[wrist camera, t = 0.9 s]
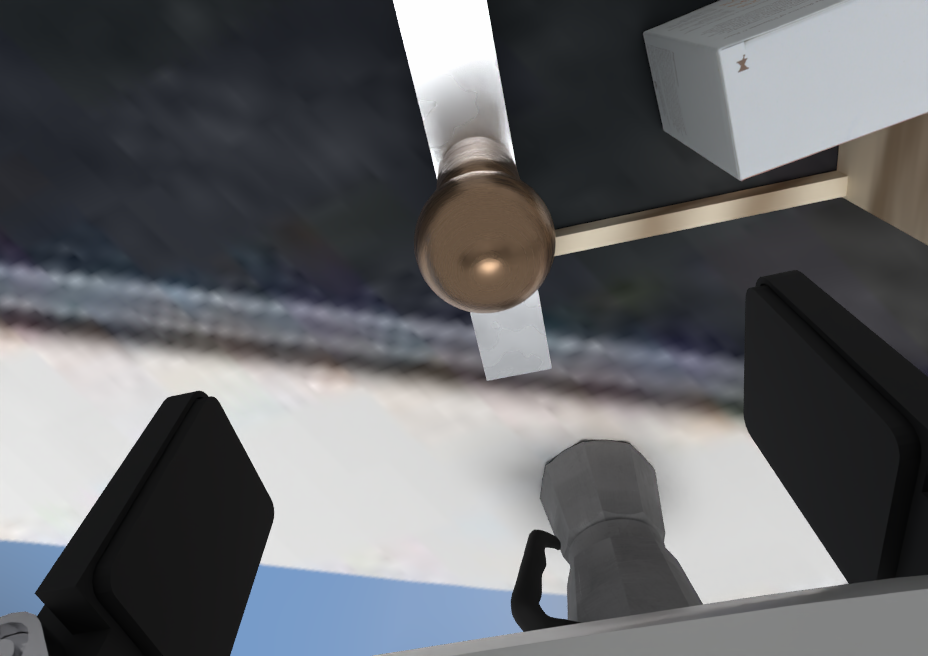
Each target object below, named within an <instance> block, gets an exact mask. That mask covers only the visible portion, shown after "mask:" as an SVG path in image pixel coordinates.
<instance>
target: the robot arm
mask: <svg viewBox="0 0 928 656" xmlns="http://www.w3.org/2000/svg"><path fill="white" fill-rule="evenodd" d="M744 420H745V424H746V427H747V430H748V432H749V434H750V436H751V437H752V439H753V440H754V442H755V443H756V445H757V446H758V448H759V449H760V451H761V452H762V454H763V455H764V457H765V458H766V460H767V461H768V463H769V464H770V466H771V467H772V469H773V470H774V472H775V473H776V475H777V476H778V478H779V479H780V481H781V482H782V484H783V485H784V487H785V488H786V490H787V491H788V493H789V494H790V496H791V497H792V499H793V500H794V502H795V503H796V505H797V506H798V508H799V509H800V511H801V512H802V514H803V515H804V517H805V518H806V520H807V521H808V523H809V524H810V526H811V527H812V529H813V530H814V532H815V533H816V535H817V536H818V538H819V539H820V541H821V542H822V544H823V545H824V547H825V548H826V550H827V551H828V553H829V554H830V556H831V557H832V559H833V560H834V562H835V563H836V565H837V566H838V568H839V569H840V571H841V572H842V574H843V575H844V577H845V579H846V580H847V582H848V583H849V584H845V585H838V586H830V587H823V588H815V589H808V590H801V591H793V592H786V593H778V594H771V595H763V596H757V597H750V598H744V599H737V600H730V601H724V602H717V603H710V604H704V605H697V606H691V607H684V608H677V609H671V610H664V611H658V612H651V613H644V614H638V615H631V616H625V617H618V618H611V619H605V620H598V621H591V622H585V623H578V624H572V625H565V626H559V627H552V628H546V629H540V630H533V631H527V632H520V633H514V634H508V635H501V636H495V637H488V638H482V639H476V640H469V641H463V642H457V643H450V644H444V645H437V646H431V647H425V648H418V649H412V650H406V651H400V652H393V653H387V654H380V655H374V656H928V377H927V376H926V375H925V374H924V373H922V372H921V371H920V370H919V369H918V368H916V367H915V366H914V365H913V364H911V363H910V362H909V361H908V360H907V359H905V358H904V357H903V356H902V355H901V354H899V353H898V352H897V351H896V350H895V349H893V348H892V347H891V346H890V345H888V344H887V343H886V342H885V341H884V340H882V339H881V338H880V337H879V336H878V335H876V334H875V333H874V332H873V331H872V330H870V329H869V328H868V327H867V326H865V325H864V324H863V323H862V322H861V321H859V320H858V319H857V318H856V317H855V316H853V315H852V314H851V313H850V312H848V311H847V310H846V309H845V308H844V307H842V306H841V305H840V304H839V303H838V302H836V301H835V300H834V299H833V298H832V297H830V296H829V295H828V294H827V293H825V292H824V291H823V290H822V289H821V288H819V287H818V286H817V285H816V284H815V283H813V282H812V281H811V280H810V279H809V278H807V277H806V276H805V275H804V274H802V273H801V272H799V271H798V270H793V271H788V272H783V273H778V274H773V275H768V276H764V277H760V278H759V279H758V280H757V282H756V287H753V288H749V289H748V290H747V293H746V308H745V364H744ZM273 519H274V507H273V503H272V500H271V498H270V496H269V494H268V492H267V491H266V489H265V487H264V485H263V483H262V481H261V479H260V477H259V476H258V474H257V472H256V470H255V468H254V466H253V464H252V463H251V461H250V459H249V457H248V455H247V453H246V451H245V449H244V448H243V446H242V444H241V442H240V440H239V438H238V436H237V434H236V433H235V431H234V429H233V427H232V425H231V423H230V421H229V420H228V418H227V416H226V414H225V412H224V410H223V408H222V406H221V405H220V403H219V401H218V400H217V399H216V398H215V397H212V396H211V397H208V395H207V394H205V393H204V392H202V391H196V392H191V393H186V394H181V395H176V396H171V397H168V398H167V399H166V400H165V401H164V402H163V403H162V405H161V406H160V408H159V409H158V411H157V412H156V414H155V415H154V417H153V418H152V420H151V421H150V423H149V424H148V426H147V427H146V429H145V430H144V432H143V433H142V435H141V436H140V438H139V439H138V441H137V442H136V443H135V445H134V446H133V448H132V449H131V451H130V452H129V454H128V455H127V457H126V458H125V460H124V461H123V463H122V464H121V466H120V467H119V469H118V470H117V472H116V473H115V475H114V476H113V478H112V479H111V481H110V482H109V484H108V485H107V487H106V488H105V490H104V491H103V493H102V494H101V496H100V497H99V499H98V500H97V501H96V503H95V504H94V506H93V507H92V509H91V510H90V512H89V513H88V515H87V516H86V518H85V519H84V521H83V522H82V524H81V525H80V527H79V528H78V530H77V531H76V533H75V534H74V536H73V537H72V539H71V540H70V542H69V543H68V545H67V546H66V548H65V549H64V551H63V552H62V554H61V555H60V557H59V558H58V559H57V561H56V562H55V564H54V565H53V567H52V569H51V570H50V572H49V573H48V574H47V576H46V577H45V579H44V581H43V582H42V584H41V585H40V586H39V588H38V590H37V591H36V592H35V594H36V595H37V596H38V597H39V598H40V600H41V601H42V602H43V603H44V604H45V605H44V607H43V608H42V610H41V611H40V613H39V614H38V616H36V615H34V614H31V613H28V612H18V613H11V614H8V615H5V616H2V617H0V656H230V654H231V651H232V648H233V644H234V641H235V638H236V635H237V632H238V629H239V626H240V623H241V620H242V617H243V613H244V610H245V607H246V604H247V601H248V598H249V595H250V592H251V589H252V585H253V582H254V579H255V576H256V573H257V570H258V567H259V564H260V561H261V558H262V554H263V551H264V548H265V545H266V542H267V539H268V536H269V533H270V530H271V526H272V523H273Z"/></svg>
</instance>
